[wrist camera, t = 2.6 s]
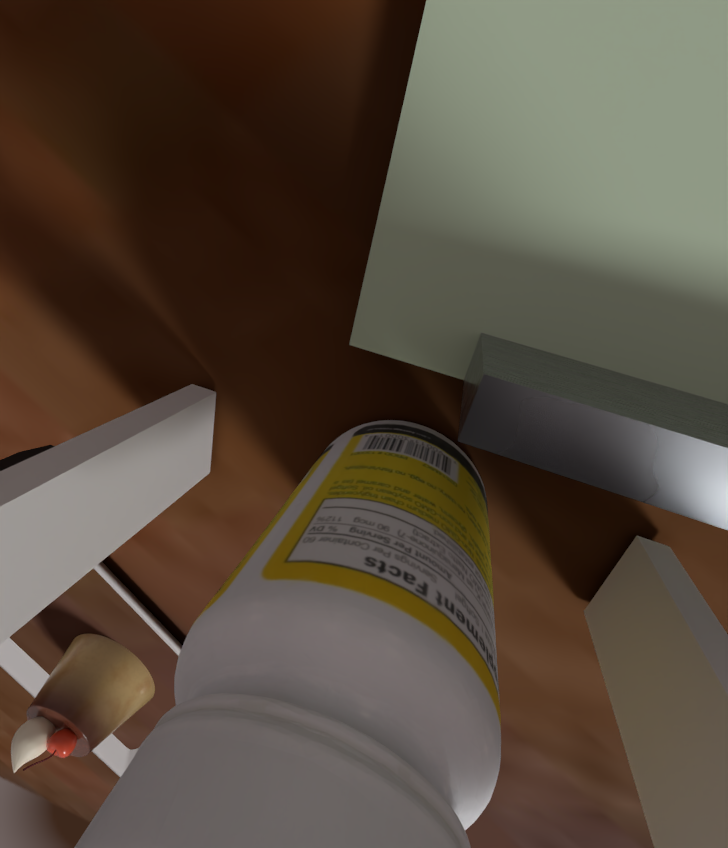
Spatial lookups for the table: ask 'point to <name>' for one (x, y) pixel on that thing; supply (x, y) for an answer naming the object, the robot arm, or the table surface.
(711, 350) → the board
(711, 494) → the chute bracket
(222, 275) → the table surface
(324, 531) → the supplement bottle
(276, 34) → the table surface
